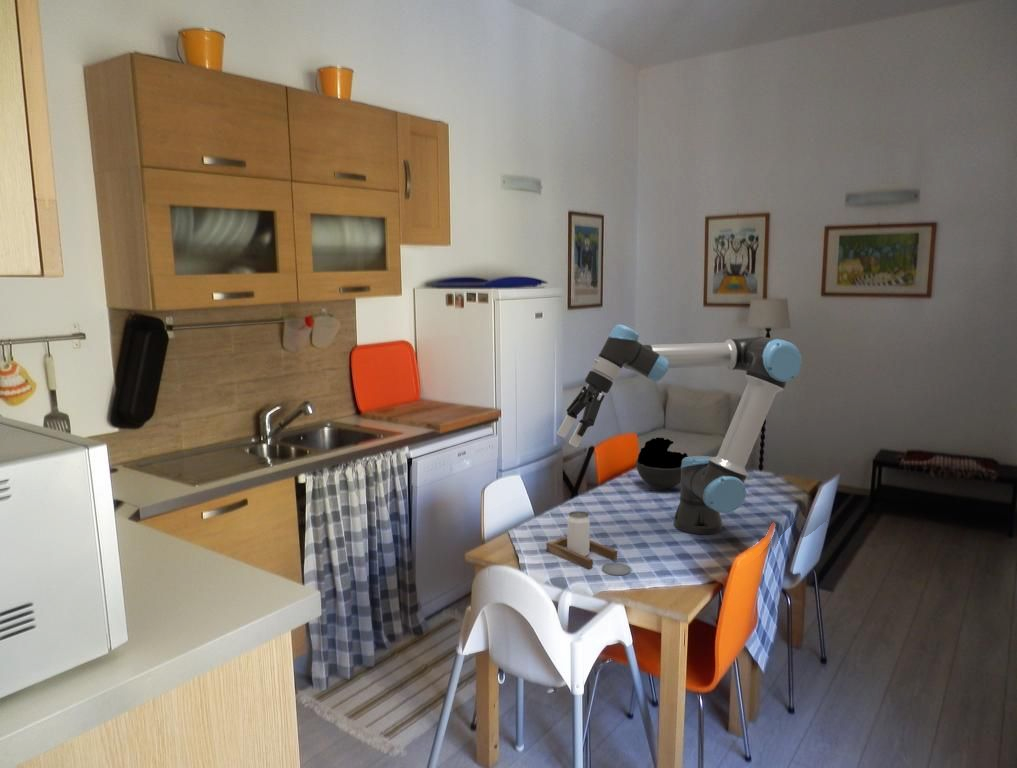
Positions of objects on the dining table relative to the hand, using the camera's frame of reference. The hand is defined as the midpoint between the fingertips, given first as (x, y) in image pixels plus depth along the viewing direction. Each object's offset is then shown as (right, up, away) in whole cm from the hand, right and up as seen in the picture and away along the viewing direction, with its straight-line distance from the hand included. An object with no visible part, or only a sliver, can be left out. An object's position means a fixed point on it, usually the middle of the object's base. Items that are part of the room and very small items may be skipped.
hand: (566, 440), depth 208 cm
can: (+4, -34, +4) cm, 34 cm away
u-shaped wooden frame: (+5, -34, +3) cm, 34 cm away
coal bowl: (+42, -24, +69) cm, 84 cm away
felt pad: (+13, -35, -7) cm, 38 cm away
